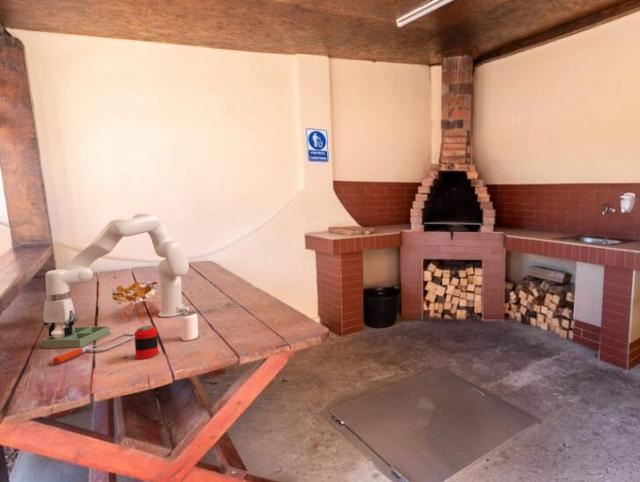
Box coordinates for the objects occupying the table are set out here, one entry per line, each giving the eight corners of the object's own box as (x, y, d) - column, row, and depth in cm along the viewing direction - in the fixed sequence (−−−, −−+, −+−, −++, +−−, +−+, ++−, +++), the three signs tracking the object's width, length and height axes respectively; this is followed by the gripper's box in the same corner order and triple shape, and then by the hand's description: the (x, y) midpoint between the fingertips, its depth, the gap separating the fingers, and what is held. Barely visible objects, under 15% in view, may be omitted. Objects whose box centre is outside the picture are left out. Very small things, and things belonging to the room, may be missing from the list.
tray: (109, 333, 191) (109, 326, 191) (80, 347, 175) (79, 339, 175) (75, 334, 191) (75, 327, 190) (42, 348, 174) (42, 340, 174)
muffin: (69, 335, 183) (68, 320, 183) (71, 338, 179) (70, 323, 179) (50, 339, 178) (49, 324, 178) (52, 343, 174) (51, 327, 174)
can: (185, 342, 180) (184, 316, 179) (179, 339, 183) (178, 314, 183) (200, 337, 185) (199, 312, 185) (194, 334, 189) (193, 310, 188)
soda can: (131, 357, 164) (130, 330, 163) (150, 350, 171) (149, 323, 170) (143, 360, 161) (141, 332, 161) (162, 353, 168) (161, 326, 168)
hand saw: (123, 329, 191) (142, 330, 190) (123, 336, 191) (142, 336, 190) (52, 356, 158) (75, 357, 158) (52, 364, 158) (75, 365, 158)
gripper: (30, 299, 174) (32, 339, 175) (70, 298, 174) (73, 338, 175) (46, 294, 181) (49, 332, 182) (85, 294, 182) (87, 331, 183)
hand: (60, 335), depth 179 cm, fingers closed on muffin, 6 cm apart
